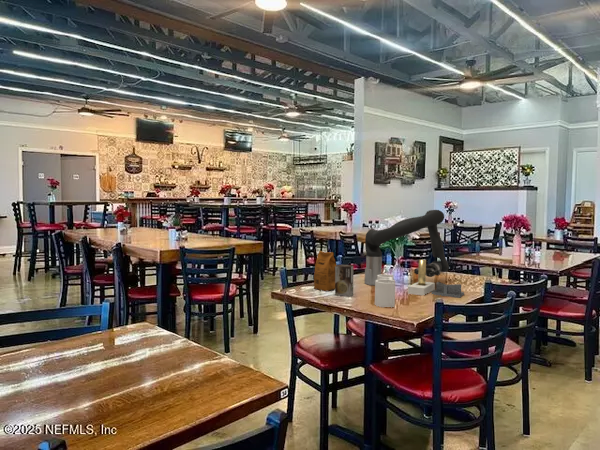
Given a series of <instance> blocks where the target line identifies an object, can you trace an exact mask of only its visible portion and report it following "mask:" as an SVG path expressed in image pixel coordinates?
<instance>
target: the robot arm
mask: <svg viewBox="0 0 600 450" xmlns="http://www.w3.org/2000/svg"><path fill="white" fill-rule="evenodd" d="M444 220H445V213H444V212H443V211H442V210H439V209H430V210H428V211H426V213H425V214H423V215H420V216H414V217H411V218H405V219H402V220H400V221H398V222H396V223H394V224H392V225H391V226H390V227H387V228H384V229H379V230H378V229H377V230H376V229H370V230H368V231H367V232H366V234H365V238H364V239H365V241H364V243H365V247H364V248H365V253H366V256H365V257H366V258H365V259H366V261H365V263H366V264H365V266H366V267H365V268H364V284H365V285H368V286H375V280H377V275H382V265H383V262H382V259H383V258H382V255H383V252H382V251H381V249H380V246H381V245H382V244H384V243H386V242H389V241H392V240H394V239H397V238H401V237H404V236H407V235H410V234H413V233H415V232H417V231H420V230H422V229H424V228H427V232H428V234H429V239H430V245H431V252H432V253H431V254H432V257H433V258H437V259H439V260H434V261H432V262H431V263H429V264H426V277H429V278H432V277H435V276H437V277H438V276H440V275H441V273H444V272H445V273H446V272H448V271H449V269H450V268H449V267H450V266H449V262H448V260H447V258H446V255H445V249H444V244H443V241H442V238H441V236H440V234H439V231H438V230H439V229H438V225H440V224H441V223H443V222H444ZM418 271H419V267H417V268H414V271H413V274H415V275H418Z"/></svg>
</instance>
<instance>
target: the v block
mask: <svg viewBox="0 0 600 450" xmlns="http://www.w3.org/2000/svg"><path fill="white" fill-rule="evenodd" d="M432 294H434V295H435V296H440V295H441V297H448V298H456V299H460V298H462V297H463V296H465V292H464V291H462V284H460V283H459V284H458V283H456V284H445V283H443V282H440V281H436V284H435V290H433V291H431V295H432ZM434 295H433V296H434Z"/></svg>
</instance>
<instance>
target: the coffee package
mask: <svg viewBox="0 0 600 450" xmlns="http://www.w3.org/2000/svg"><path fill="white" fill-rule="evenodd" d="M334 255H335V253H334V252H332V251H331V252H330V251H329V252H328V251H327V252H325V251H322V250H319V252H318V254H317V257H316V262H315V264H314V273H313V274H314V275H313V280H314V281H313V283H314V284H313V289H314V290H319V291H321V290H322V291H323V292H330V291H331V290H332V291H333V290H335V266H337V265H338V264H337V263H336V262H337V261H336V259H335V257H334Z"/></svg>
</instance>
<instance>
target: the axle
mask: <svg viewBox="0 0 600 450" xmlns="http://www.w3.org/2000/svg"><path fill="white" fill-rule="evenodd" d="M426 265H427V260H426V259H418V268H419V271H418V274H417V275H418V278H417V282H418V285H422V286H425V282H427V281H426V280H427V279H426V277H427V276H426Z"/></svg>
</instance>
